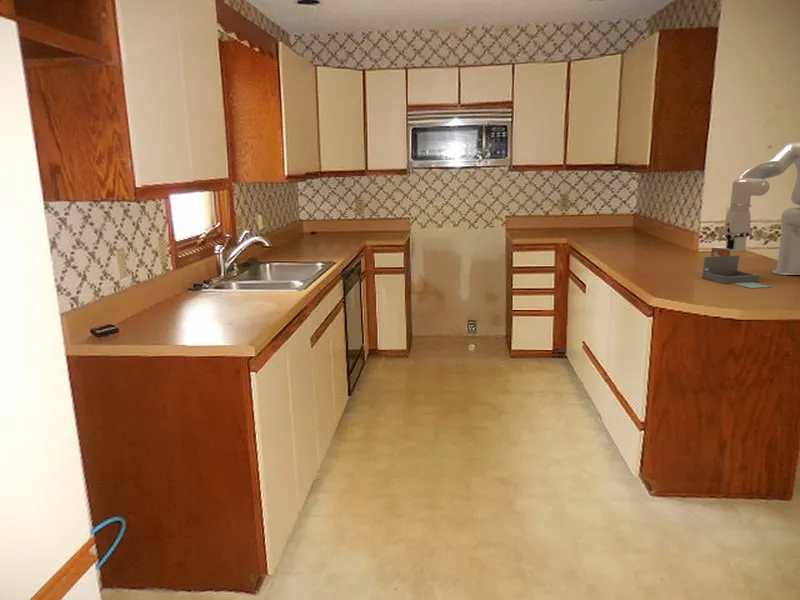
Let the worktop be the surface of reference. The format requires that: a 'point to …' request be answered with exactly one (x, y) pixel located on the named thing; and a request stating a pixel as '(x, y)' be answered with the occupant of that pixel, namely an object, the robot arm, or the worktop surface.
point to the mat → (751, 285)
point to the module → (738, 243)
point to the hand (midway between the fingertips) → (735, 247)
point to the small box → (720, 251)
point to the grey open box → (726, 270)
